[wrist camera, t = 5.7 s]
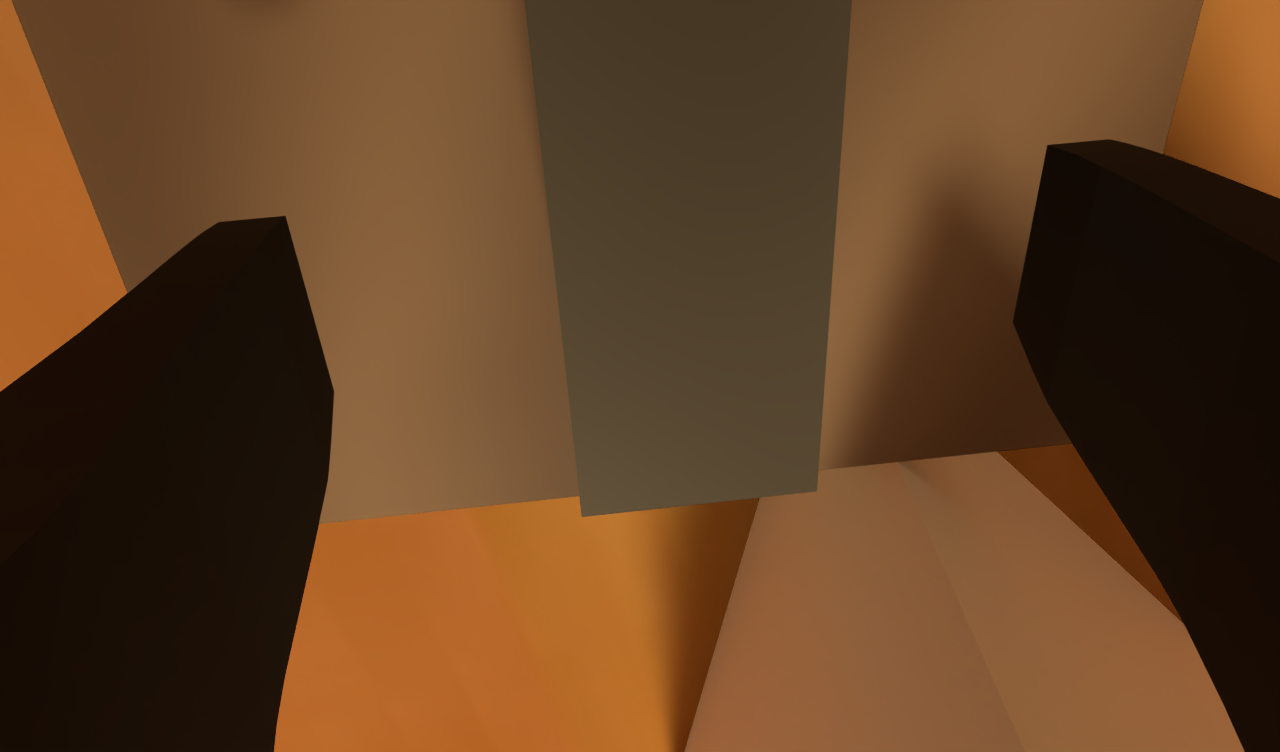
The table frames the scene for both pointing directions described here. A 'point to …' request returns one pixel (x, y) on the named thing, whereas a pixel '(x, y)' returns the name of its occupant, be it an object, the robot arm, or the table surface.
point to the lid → (620, 218)
